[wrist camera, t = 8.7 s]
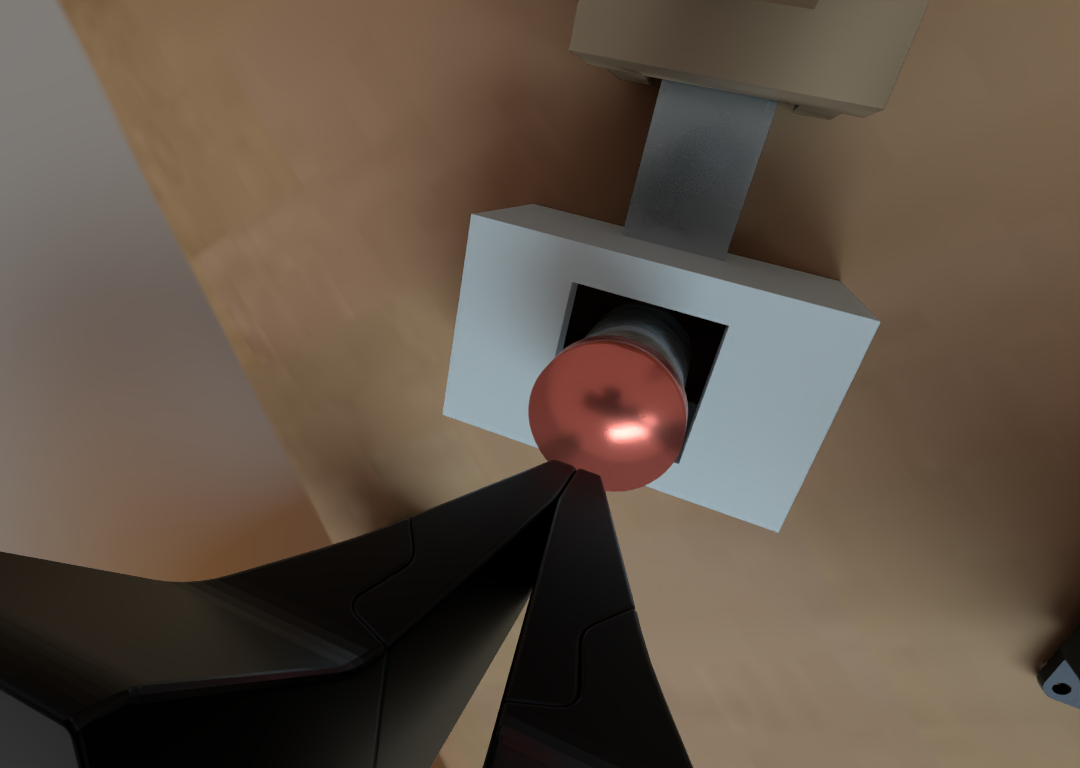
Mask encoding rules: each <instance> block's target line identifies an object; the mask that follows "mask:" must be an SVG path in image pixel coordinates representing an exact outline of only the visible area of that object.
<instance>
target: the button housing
mask: <svg viewBox="0 0 1080 768" xmlns="http://www.w3.org/2000/svg"><path fill="white" fill-rule="evenodd" d="M623 229H624V227H623V226H619V225H615V224H611V223H608V222H604V221H600V220H596V219H592V218H588V217H584V216H580V215H576V214H572V213H568V212H564V211H560V210H556V209H552V208H548V207H544V206H540V205H536V204H529V205H523V206H516V207H510V208H504V209H498V210H492V211H486V212H480V213H473V214H471V220H470V227H469V234H468V241H467V248H466V255H465V262H464V269H463V276H462V283H461V290H460V297H459V304H458V311H457V318H456V325H455V332H454V339H453V346H452V353H451V360H450V367H449V374H448V381H447V388H446V395H445V402H444V409H443V415H445V416H448V417H451V418H454V419H457V420H459V421H462V422H465V423H468V424H471V425H474V426H476V427H479V428H482V429H485V430H488V431H491V432H494V433H496V434H499V435H502V436H505V437H508V438H511V439H513V440H516V441H519V442H522V443H525V444H528V445H530V446H533V447H536V448H538V446H537V444H536V442H535V440H534V437H533V435H532V432H531V428H530V424H529V416H528V406H529V399H530V395H531V391H532V388H533V386H534V384H535V381H536V380H537V378H538V376H539V375H540V373H541V372H542V371H543V370H544V369H545V367H546V366H547V365H548V364H549V363H550V362H551V361H552V360H553V359H554V358H555V357H556V356H557V355H558V354H559V353H560V352H561V351H562V350H563V346H564V342H565V337H566V333H567V329H568V325H569V320H570V316H571V312H572V308H573V303H574V299H575V295H576V290H577V286H578V284H582V285H585V286H589V287H592V288H596V289H600V290H603V291H607V292H610V293H614V294H617V295H621V296H625V297H628V298H632V299H635V300H639V301H642V302H646V303H650V304H653V305H657V306H660V307H664V308H667V309H671V310H675V311H678V312H682V313H685V314H689V315H692V316H696V317H700V318H703V319H707V320H710V321H714V322H717V323H721V324H725V325H727V326H726V329H725V331H724V334H723V337H722V340H721V342H720V345H719V348H718V351H717V354H716V356H715V359H714V362H713V365H712V367H711V370H710V373H709V376H708V378H707V381H706V384H705V387H704V389H703V392H702V395H701V398H700V401H699V403H698V404H695V403H692V402H689V401H687V403H688V417H687V425H686V430H685V436H684V440H683V444H682V448H681V450H680V452H679V454H678V457H677V458H676V460H675V461H674V463H673V464H672V465H671V467H670V468H669V469H668V470H667V471H666V472H665V473H664V474H663V475H661V476H660V477H659V478H658V479H656V480H654V481H653V482H651V483H649V484H647V485H645V486H647V487H650V488H653V489H655V490H658V491H661V492H664V493H667V494H670V495H673V496H675V497H678V498H681V499H684V500H687V501H690V502H692V503H695V504H698V505H701V506H704V507H707V508H709V509H712V510H715V511H718V512H721V513H724V514H727V515H729V516H732V517H735V518H738V519H741V520H744V521H746V522H749V523H752V524H755V525H758V526H761V527H763V528H766V529H769V530H772V531H775V532H778V533H779V530H780V528H781V526H782V524H783V522H784V520H785V518H786V516H787V514H788V512H789V510H790V508H791V506H792V504H793V502H794V500H795V497H796V495H797V493H798V491H799V489H800V487H801V485H802V483H803V481H804V479H805V477H806V475H807V473H808V471H809V469H810V467H811V464H812V462H813V460H814V458H815V456H816V454H817V452H818V450H819V448H820V446H821V444H822V442H823V440H824V438H825V436H826V434H827V431H828V429H829V427H830V425H831V423H832V421H833V419H834V417H835V415H836V413H837V411H838V409H839V407H840V405H841V403H842V401H843V398H844V396H845V394H846V392H847V390H848V388H849V386H850V384H851V382H852V380H853V378H854V376H855V374H856V372H857V370H858V368H859V365H860V363H861V361H862V359H863V357H864V355H865V353H866V351H867V349H868V347H869V345H870V343H871V341H872V339H873V337H874V335H875V332H876V330H877V328H878V326H879V324H880V322H881V321H880V320H879V319H878V318H877V317H876V316H875V315H874V314H873V313H872V312H871V311H870V310H869V309H868V308H867V307H866V306H865V305H864V304H863V303H862V302H861V301H860V300H859V299H858V298H857V297H856V296H855V295H854V294H853V293H852V292H851V291H850V290H849V289H848V288H847V287H846V286H845V285H844V284H843V283H842V282H841V281H837V280H833V279H829V278H825V277H821V276H817V275H813V274H809V273H805V272H801V271H797V270H794V269H790V268H786V267H782V266H778V265H774V264H770V263H766V262H762V261H758V260H754V259H750V258H746V257H742V256H738V255H734V254H730V253H727V254H726V257H725V260H724V261H721V260H717V259H713V258H709V257H705V256H701V255H697V254H693V253H689V252H686V251H682V250H678V249H674V248H670V247H666V246H662V245H658V244H654V243H650V242H647V241H643V240H639V239H635V238H631V237H627V236H623V235H622V233H623Z"/></svg>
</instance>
